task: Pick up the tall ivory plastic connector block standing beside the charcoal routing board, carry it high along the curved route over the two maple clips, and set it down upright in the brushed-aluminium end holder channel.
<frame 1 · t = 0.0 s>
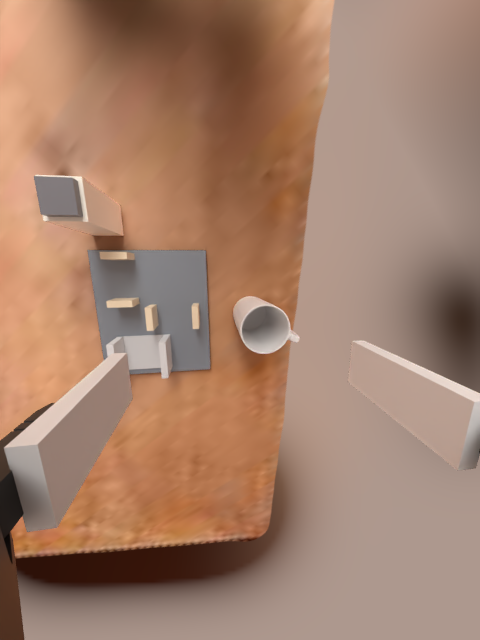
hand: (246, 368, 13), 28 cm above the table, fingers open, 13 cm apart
mug: (257, 315, 42), on the table
connector: (106, 220, 35), on the table
route board: (155, 314, 39), on the table
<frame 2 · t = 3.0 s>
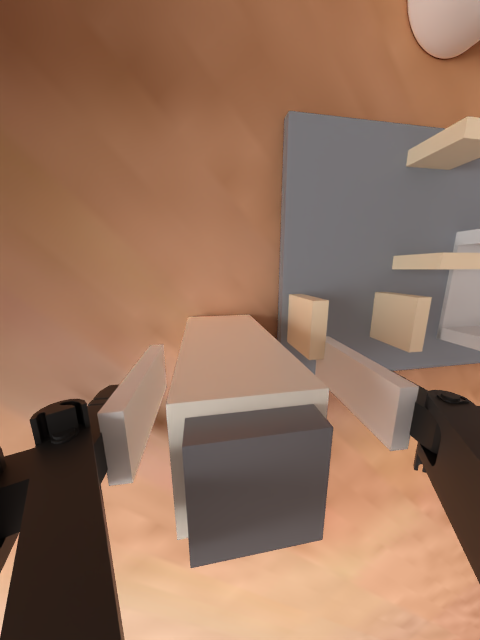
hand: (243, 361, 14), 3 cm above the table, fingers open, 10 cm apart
connector: (220, 344, 17), on the table
route board: (404, 262, 18), on the table
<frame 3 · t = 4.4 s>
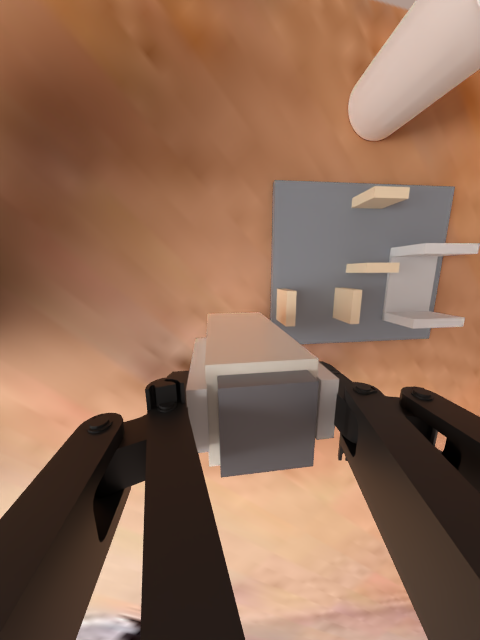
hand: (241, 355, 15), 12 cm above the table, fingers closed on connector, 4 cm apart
mug: (380, 93, 24), on the table
connector: (234, 338, 20), point 7 cm above the table, touching gripper
route board: (356, 268, 27), on the table
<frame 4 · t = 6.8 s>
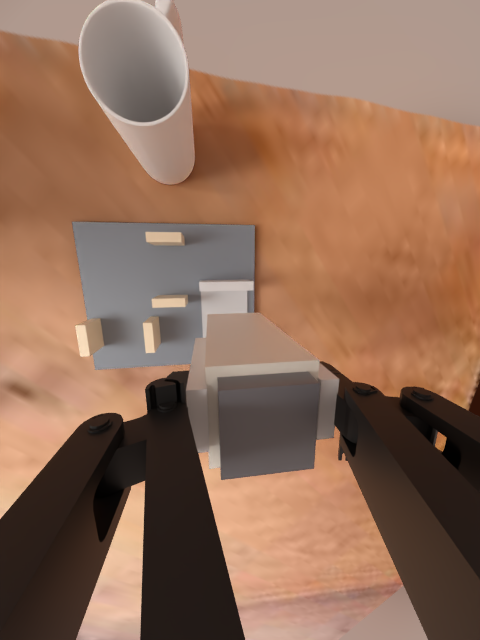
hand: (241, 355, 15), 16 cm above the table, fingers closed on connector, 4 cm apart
mug: (172, 141, 26), on the table
connector: (234, 338, 20), point 12 cm above the table, touching gripper
route board: (174, 298, 30), on the table
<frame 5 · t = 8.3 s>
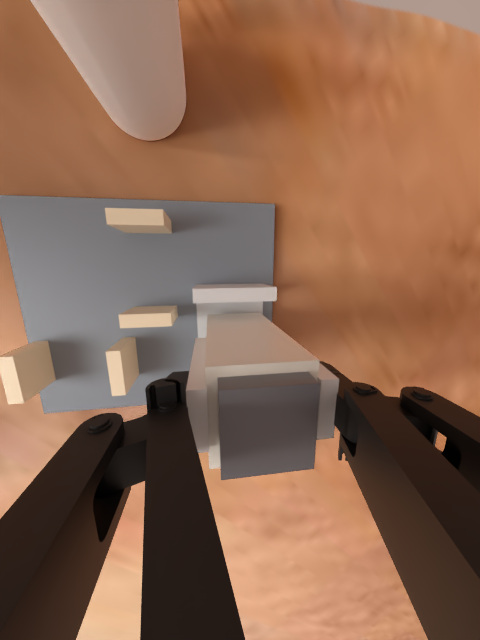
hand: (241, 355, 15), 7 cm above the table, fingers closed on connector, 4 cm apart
mug: (152, 73, 17), on the table
connector: (234, 338, 20), point 2 cm above the table, touching gripper
route board: (158, 310, 21), on the table
when the fingers open (5 cm above the table, at t = 9.2 s): connector stays where it is, resting on route board.
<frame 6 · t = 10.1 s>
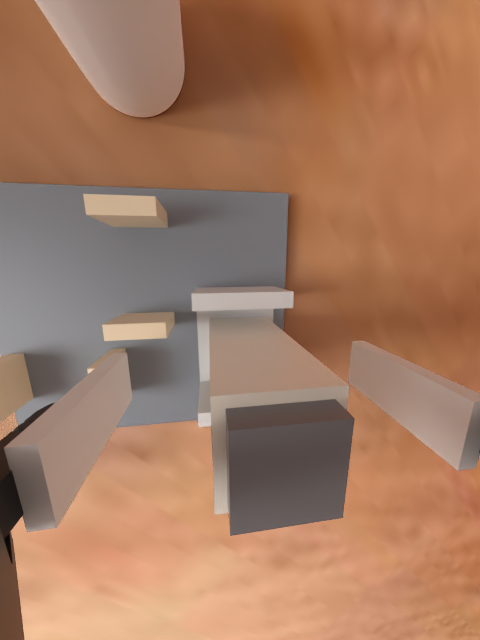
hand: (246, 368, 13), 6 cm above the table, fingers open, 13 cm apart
mug: (143, 36, 14), on the table
connector: (238, 345, 18), point 1 cm above the table, touching route board
route board: (152, 316, 18), on the table
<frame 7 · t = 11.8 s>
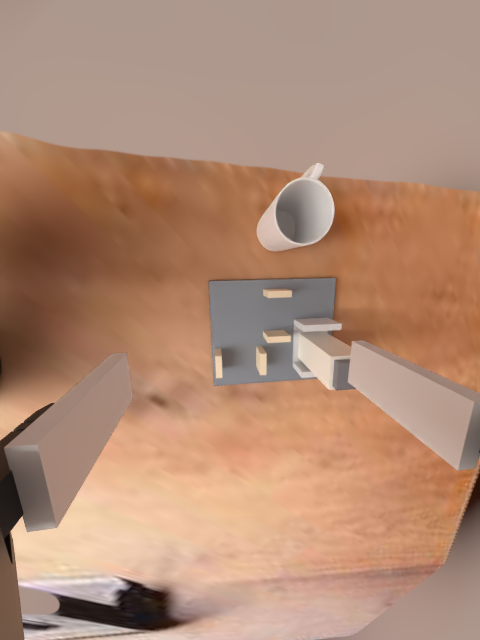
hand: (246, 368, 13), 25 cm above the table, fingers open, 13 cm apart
mug: (279, 221, 36), on the table
connector: (311, 344, 40), point 1 cm above the table, touching route board
route board: (272, 331, 39), on the table
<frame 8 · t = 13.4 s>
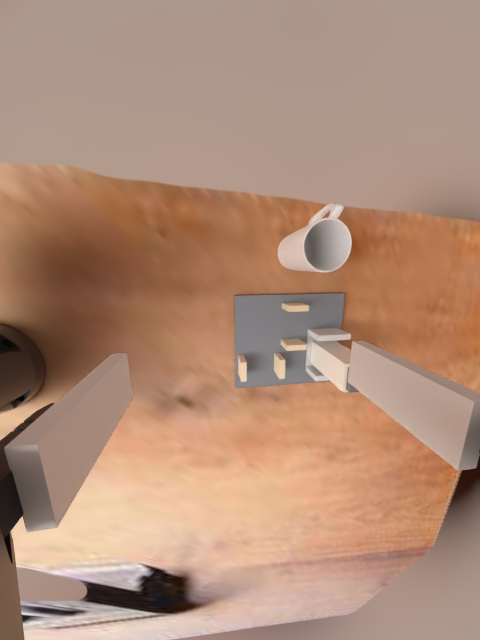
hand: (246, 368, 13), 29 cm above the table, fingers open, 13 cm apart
mug: (297, 243, 41), on the table
connector: (322, 351, 45), point 1 cm above the table, touching route board
route board: (288, 340, 44), on the table
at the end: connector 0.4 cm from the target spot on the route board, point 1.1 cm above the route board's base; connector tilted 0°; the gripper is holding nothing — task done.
